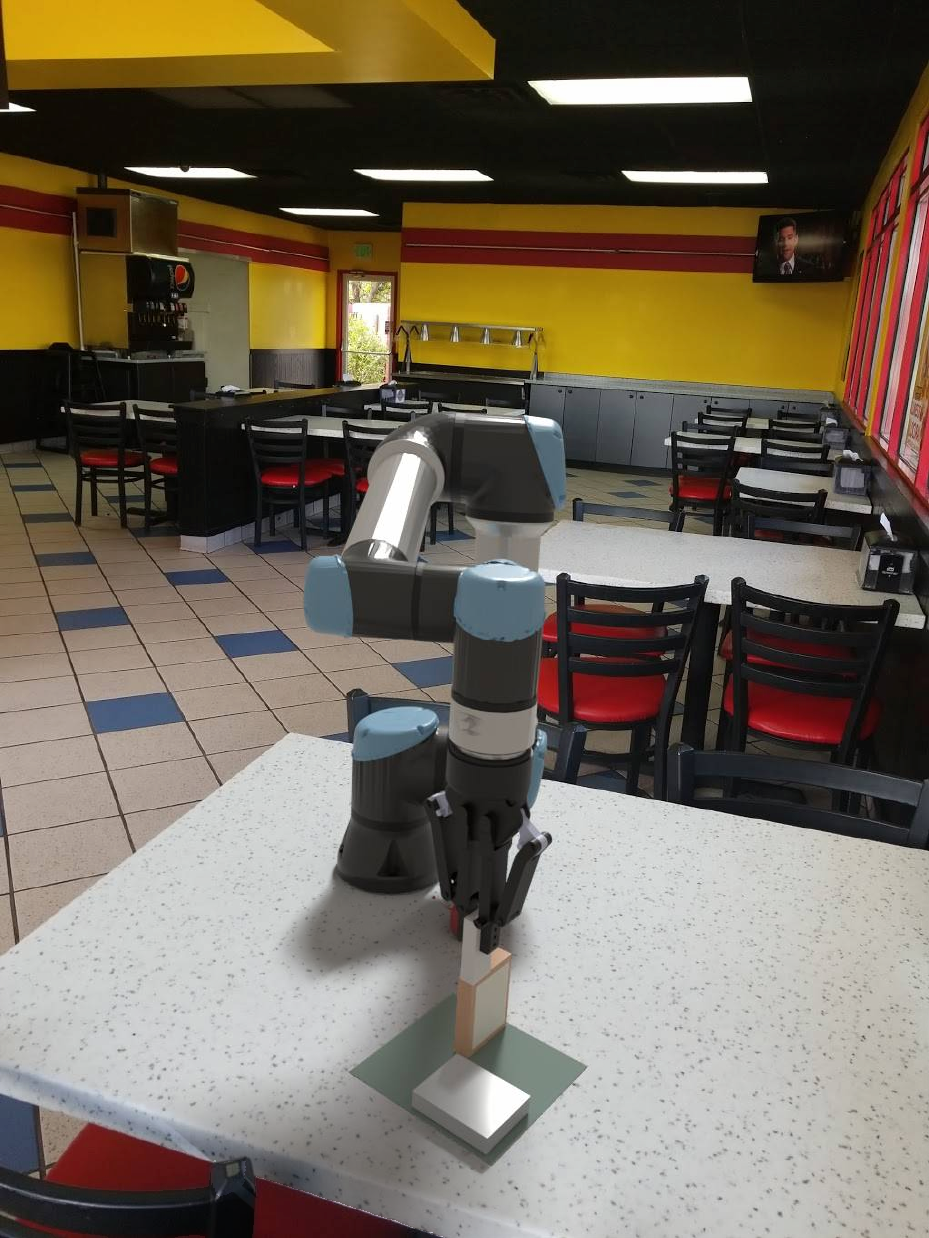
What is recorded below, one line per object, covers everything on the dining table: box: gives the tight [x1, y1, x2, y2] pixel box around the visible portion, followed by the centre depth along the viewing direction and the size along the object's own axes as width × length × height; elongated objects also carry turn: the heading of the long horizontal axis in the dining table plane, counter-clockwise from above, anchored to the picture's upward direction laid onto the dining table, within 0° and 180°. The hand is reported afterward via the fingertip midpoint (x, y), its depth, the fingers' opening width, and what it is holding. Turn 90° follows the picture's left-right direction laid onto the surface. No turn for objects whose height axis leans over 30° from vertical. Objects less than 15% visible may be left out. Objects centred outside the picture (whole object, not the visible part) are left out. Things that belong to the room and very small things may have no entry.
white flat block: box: [412, 1053, 530, 1155], centre depth 93 cm, size 2×7×9 cm
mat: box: [348, 993, 589, 1167], centre depth 99 cm, size 18×17×1 cm
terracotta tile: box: [454, 947, 513, 1059], centre depth 102 cm, size 2×7×9 cm, turn 142°
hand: (475, 975), depth 90 cm, fingers closed
